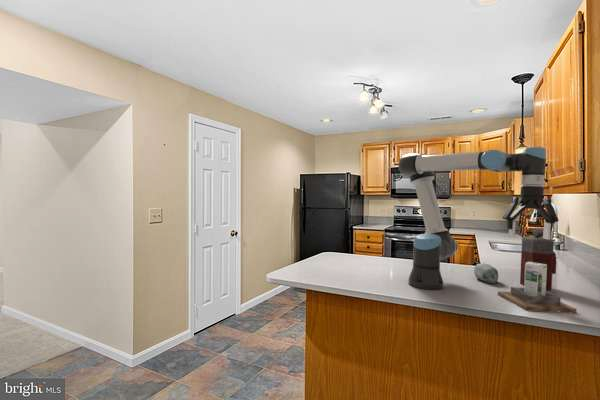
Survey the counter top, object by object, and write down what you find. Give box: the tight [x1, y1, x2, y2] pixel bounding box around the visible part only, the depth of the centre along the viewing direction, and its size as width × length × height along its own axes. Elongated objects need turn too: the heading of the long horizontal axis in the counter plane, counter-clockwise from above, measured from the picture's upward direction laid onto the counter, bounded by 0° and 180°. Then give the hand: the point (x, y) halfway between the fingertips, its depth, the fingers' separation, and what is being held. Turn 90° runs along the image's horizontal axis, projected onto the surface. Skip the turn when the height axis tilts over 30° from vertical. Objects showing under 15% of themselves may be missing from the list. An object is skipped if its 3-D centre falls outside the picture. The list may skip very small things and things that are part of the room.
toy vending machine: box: [519, 227, 557, 291], centre depth 146 cm, size 9×11×28 cm
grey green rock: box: [473, 263, 499, 284], centre depth 156 cm, size 14×10×10 cm
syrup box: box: [523, 262, 547, 296], centre depth 123 cm, size 6×6×14 cm
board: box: [497, 286, 577, 314], centre depth 124 cm, size 18×18×4 cm
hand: (528, 238), depth 126 cm, fingers open, 13 cm apart
